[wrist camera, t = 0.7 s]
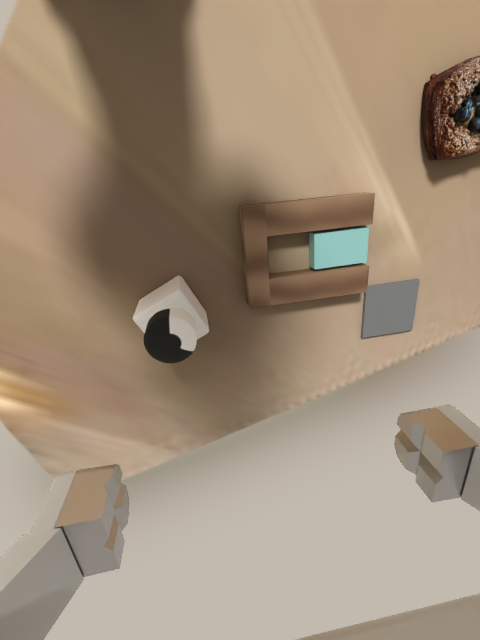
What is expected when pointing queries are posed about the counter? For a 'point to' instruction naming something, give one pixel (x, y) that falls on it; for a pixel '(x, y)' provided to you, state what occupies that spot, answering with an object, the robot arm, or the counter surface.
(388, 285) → the slate mat
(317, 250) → the block
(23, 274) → the counter surface
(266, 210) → the channel board
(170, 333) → the white black angular body
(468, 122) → the pastry
